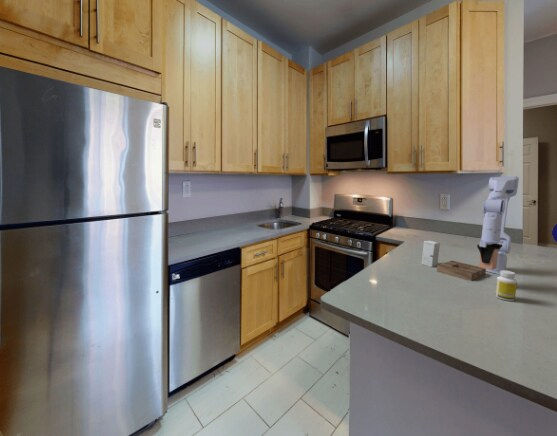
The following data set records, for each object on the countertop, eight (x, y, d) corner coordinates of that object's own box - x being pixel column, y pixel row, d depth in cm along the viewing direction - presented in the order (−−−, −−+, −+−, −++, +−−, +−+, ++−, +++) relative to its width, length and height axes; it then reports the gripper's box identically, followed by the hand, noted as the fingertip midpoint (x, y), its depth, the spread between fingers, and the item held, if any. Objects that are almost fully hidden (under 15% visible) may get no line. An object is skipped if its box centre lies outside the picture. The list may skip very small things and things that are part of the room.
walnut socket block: (451, 266, 128) (452, 260, 128) (485, 274, 117) (486, 268, 116) (436, 271, 121) (437, 265, 121) (471, 280, 109) (471, 274, 109)
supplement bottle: (518, 302, 90) (522, 275, 88) (500, 300, 91) (503, 274, 89) (508, 295, 95) (511, 270, 94) (491, 294, 96) (494, 269, 95)
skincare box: (421, 263, 133) (422, 240, 131) (427, 262, 134) (428, 240, 133) (432, 267, 127) (434, 243, 125) (438, 266, 129) (440, 242, 127)
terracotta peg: (483, 265, 108) (485, 246, 107) (496, 268, 104) (498, 249, 103) (478, 267, 106) (480, 248, 105) (491, 270, 102) (494, 250, 101)
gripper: (496, 232, 96) (492, 267, 98) (511, 228, 103) (507, 261, 105) (474, 229, 102) (471, 262, 104) (489, 226, 109) (486, 257, 111)
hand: (488, 261), depth 105 cm, fingers closed on terracotta peg, 4 cm apart
